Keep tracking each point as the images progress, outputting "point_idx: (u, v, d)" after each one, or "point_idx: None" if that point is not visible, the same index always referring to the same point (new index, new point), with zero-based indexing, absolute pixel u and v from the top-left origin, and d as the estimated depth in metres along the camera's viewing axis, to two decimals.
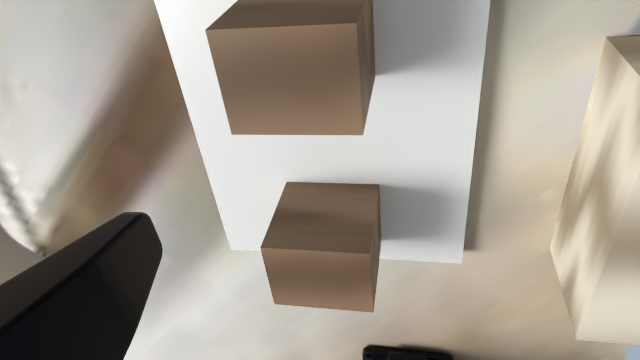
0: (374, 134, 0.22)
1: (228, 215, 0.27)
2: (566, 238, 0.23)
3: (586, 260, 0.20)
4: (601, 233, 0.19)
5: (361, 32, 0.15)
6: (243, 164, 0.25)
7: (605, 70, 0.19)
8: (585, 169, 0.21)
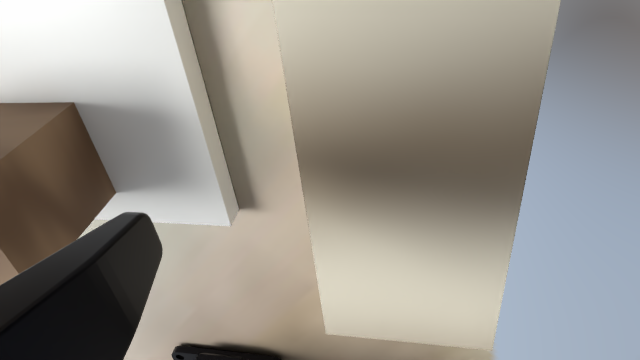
0: (29, 15, 0.14)
1: None
2: None
3: None
4: None
5: None
6: None
7: None
8: None
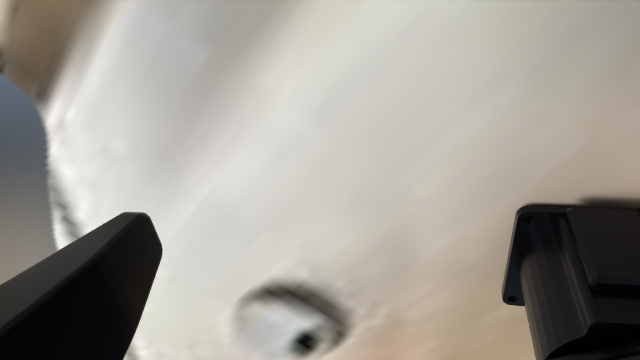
0: None
1: None
2: None
3: None
4: None
5: None
6: None
7: None
8: None
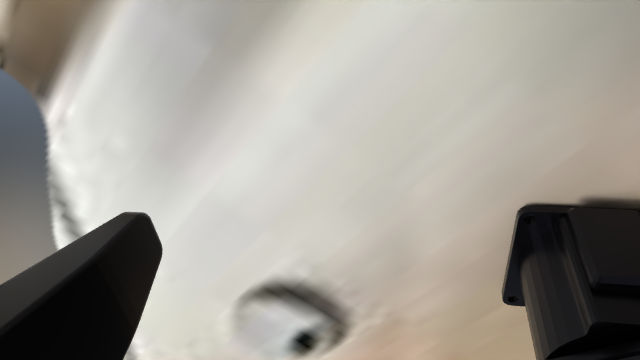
0: None
1: None
2: None
3: None
4: None
5: None
6: None
7: None
8: None
